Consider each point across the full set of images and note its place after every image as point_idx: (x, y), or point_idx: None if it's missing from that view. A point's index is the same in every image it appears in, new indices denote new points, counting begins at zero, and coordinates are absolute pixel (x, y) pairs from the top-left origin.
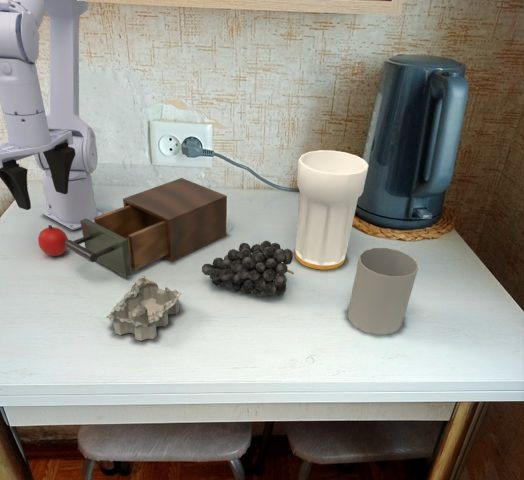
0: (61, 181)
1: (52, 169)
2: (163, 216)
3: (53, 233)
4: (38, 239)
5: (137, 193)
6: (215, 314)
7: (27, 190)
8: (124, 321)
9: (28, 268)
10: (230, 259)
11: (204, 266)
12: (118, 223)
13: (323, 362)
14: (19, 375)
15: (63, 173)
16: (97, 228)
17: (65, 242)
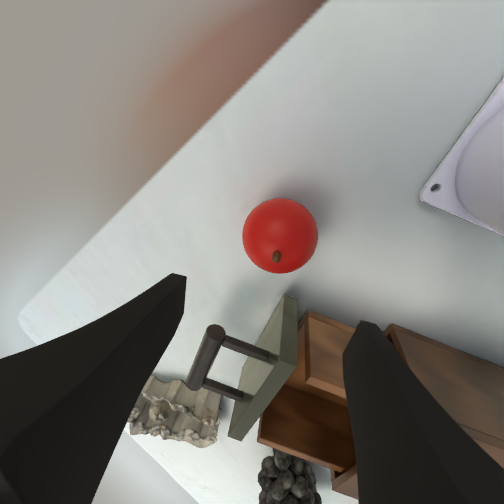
0: (355, 397)
1: (393, 416)
2: (344, 484)
3: (264, 265)
4: (251, 218)
5: (481, 441)
6: (226, 441)
7: (140, 388)
8: (137, 403)
9: (202, 202)
10: (284, 499)
11: (278, 463)
12: None
13: (204, 492)
14: (27, 326)
15: (358, 454)
16: (257, 397)
17: (206, 335)
